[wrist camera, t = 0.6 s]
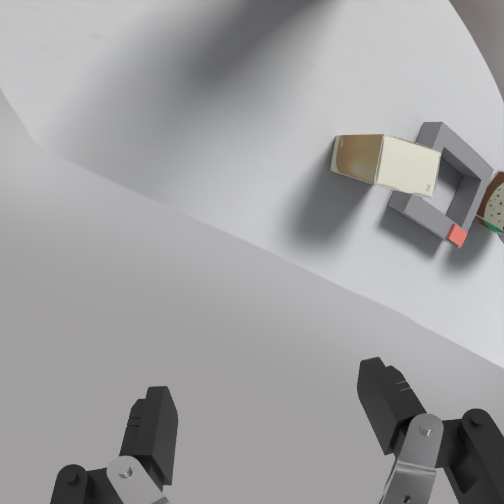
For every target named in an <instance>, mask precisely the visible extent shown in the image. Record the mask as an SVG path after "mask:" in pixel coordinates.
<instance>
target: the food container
mask: <svg viewBox="0 0 504 504" xmlns="http://www.w3.org/2000/svg"><path fill="white" fill-rule="evenodd" d="M474 220H475V221H477V222H479V223H480V224H482V225H484V226H485V227H487V228H489V229H490V230H492V231H494V232H495V233H497V234H498V236H499V238H500V239H501V241H502V242H503V243H504V171H497V172H496V174H495V175H494V176H493V177H492V179H491V180H490V181H489V183H488V186H487V188H486V191H485V193H484V196H483V198H482V201H481V203H480V206H479V208H478V210H477V213H476V215H475V217H474Z"/></svg>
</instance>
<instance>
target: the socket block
mask: <svg viewBox="0 0 504 504" xmlns="http://www.w3.org/2000/svg"><path fill="white" fill-rule="evenodd" d="M416 143H418V144H421V145H424V146H426V147H429V148H431V149H434V150H436V151H438V152H440V153H441V157H442V158H443V159H444V160H445V161H446V162H448V163H449V164H450V165H451V166H453V167H454V168H455V169H456V170H457V171H458V172H460V173H461V174H462V175H463V177H462V180H461V182H460V184H459V187H458V189H457V192H456V194H455V196H454V198H453V201H452V203H451V205H450V208H449V210H448V212H447V214H446V215H444V214H443V213H441V212H440V211H439V210H437V209H436V208H434V207H433V206H432V205H430V204H429V203H427V202H426V201H424V200H423V199H422V197H421V196H417V195H413V194H409V193H404V192H400V191H396V190H394V192H393V194H392V196H391V199H390V201H389V203H388V206H390V207H391V208H393V209H395V210H396V211H398V212H400V213H401V214H403V215H404V216H406V217H408V218H409V219H411V220H413V221H414V222H416V223H417V224H419V225H421V226H422V227H424V228H425V229H427V230H428V231H430V232H431V233H433V234H435V235H436V236H438V237H439V238H441V239H442V240H444V241H446V242H448V243H449V244H451V245H453V246H455V247H457V248H459V249H460V247H462V244H463V242H464V240H465V238H466V236H467V234H468V230H469V228H470V226H471V224H472V222H473V219H474V217H475V215H476V213H477V210H478V208H479V206H480V203H481V201H482V198H483V196H484V193H485V191H486V188H487V186H488V183H489V180H490V178H491V175H492V172H493V170H494V169H493V168H492V167H491V166H490V165H489V164H488V163H487V162H486V161H485V160H484V159H483V158H482V157H481V156H480V155H479V154H477V153H476V152H475V151H474V150H473V149H472V148H471V147H470V146H469V145H468V144H467V143H466V142H465V141H464V140H463V139H461V138H460V137H459V136H458V135H457V134H456V133H455V132H454V131H452V130H451V129H450V128H449V127H448V126H447V125H445V124H444V123H443V122H424V123H423V126H422V128H421V131H420V133H419V136H418V138H417V140H416Z"/></svg>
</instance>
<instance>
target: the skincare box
mask: <svg viewBox="0 0 504 504" xmlns="http://www.w3.org/2000/svg"><path fill="white" fill-rule="evenodd" d="M440 157H441V153H440V152H438V151H436V150H434V149H431V148H429V147H426V146H424V145H421V144H418V143H415V142H411V141H408V140H405V139H401V138H397V137H394V136H390V135H386V134H372V135H339V136H336V139H335V144H334V149H333V155H332V161H331V166H330V171H332V172H335V173H338V174H341V175H344V176H348V177H351V178H354V179H357V180H360V181H363V182H366V183H369V184H372V185H375V186H379V187H383V188H388V189H392V190H396V191H400V192H404V193H409V194H413V195H417V196H421V197H425V198H429V199H433V196H434V191H435V187H436V182H437V177H438V171H439V165H440Z"/></svg>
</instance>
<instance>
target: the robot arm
mask: <svg viewBox="0 0 504 504" xmlns="http://www.w3.org/2000/svg"><path fill="white" fill-rule="evenodd" d="M357 392H358V397H359V400H360V402H361V404H362V406H363V408H364V410H365V413H366V415H367V417H368V419H369V421H370V423H371V426H372V428H373V430H374V432H375V434H376V437H377V439H378V441H379V443H380V446H381V448H382V450H383V452H384V455H387V454H391V453H394V455H395V457H396V459H395V461H394V463H393V466H392V469H391V471H390V474H389V476H388V479H387V481H386V484H385V486H384V489H383V491H382V493H381V496H380V498H379V500H378V502H377V504H428V501H429V498H430V494H431V491H432V487H433V484H434V481H435V477H436V471H434V469H435V468H441V467H443V468H444V471H445V473H446V475H447V477H448V480H449V482H450V484H451V486H452V489H453V491H454V493H455V496H456V498H457V500H458V502H459V504H504V437H503V435H502V434H501V432H500V430H499V429H498V427H497V426H496V424H495V423H494V421H493V419H492V418H491V417H490V415H489V414H488V413H487V412H486V411H484V410H482V409H471V410H469V411H467V412H466V413H465V414H464V415H463V417H462V419H455V420H445V421H443V420H440V418H438V417H437V416H435V415H433V414H428V413H427V412H426V411H425V409H424V408H423V406H422V404H421V403H420V401H419V400H418V398H417V397H416V395H415V393H414V392H413V390H412V389H411V388H410V386H409V384H408V383H407V382H406V380H405V378H404V376H403V375H402V374H401V372H400V371H398V370H397V369H395V368H394V367H393V366H387V367H385V365H384V364H383V362H382V361H381V359H380V358H379V357H375V358H371V359H366V360H362V361H361V363H360V369H359V376H358V383H357ZM177 428H178V414H177V410H176V407H175V405H174V402H173V400H172V397H171V394H170V392H169V389H168V387H167V386H159V387H158V386H157V387H149V388H148V391H147V394H146V398H145V399H138V400H137V401H136V403H135V404H134V405H133V407H132V408H131V412H130V416H129V419H128V423H127V427H126V431H125V435H124V439H123V443H122V446H121V451H120V454H119V457H117V458H115V459H114V460H112V461H111V462H110V463H109V465H108V467H106V468H103V469H97V470H91V471H86V470H85V469H84V468H83V467H81V466H79V465H75V464H73V465H67V466H65V467H64V468H62V469H61V470H60V471H59V473H58V475H57V479H56V482H55V486H54V490H53V494H52V498H51V502H50V504H171V503H170V502H169V501H168V500H167V498H166V497H165V496H164V495H163V493H162V491H163V485H172V475H173V465H174V455H175V445H176V436H177Z"/></svg>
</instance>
